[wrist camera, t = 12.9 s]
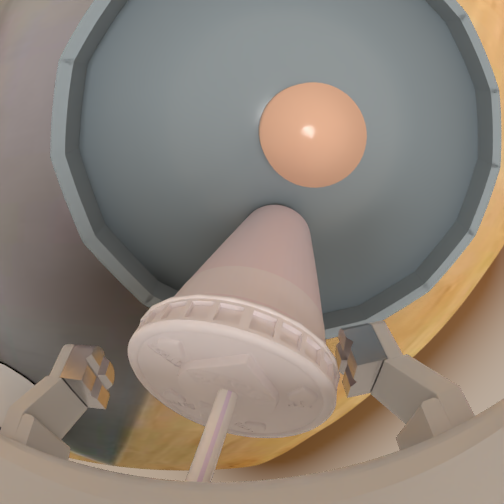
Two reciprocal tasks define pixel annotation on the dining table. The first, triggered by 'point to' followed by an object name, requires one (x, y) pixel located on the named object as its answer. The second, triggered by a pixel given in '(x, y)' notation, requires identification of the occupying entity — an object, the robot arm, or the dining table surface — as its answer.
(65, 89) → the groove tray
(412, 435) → the robot arm
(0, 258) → the dining table surface
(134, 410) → the dining table surface
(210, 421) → the smoothie
